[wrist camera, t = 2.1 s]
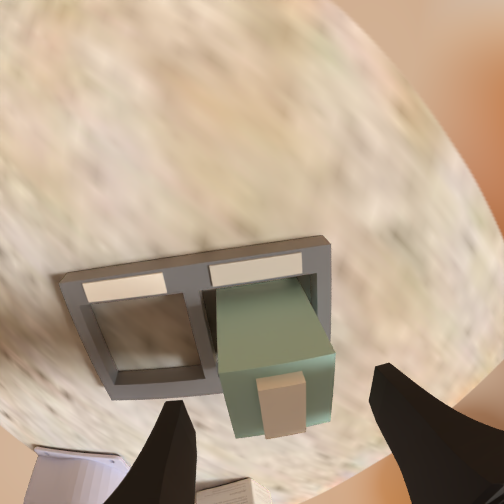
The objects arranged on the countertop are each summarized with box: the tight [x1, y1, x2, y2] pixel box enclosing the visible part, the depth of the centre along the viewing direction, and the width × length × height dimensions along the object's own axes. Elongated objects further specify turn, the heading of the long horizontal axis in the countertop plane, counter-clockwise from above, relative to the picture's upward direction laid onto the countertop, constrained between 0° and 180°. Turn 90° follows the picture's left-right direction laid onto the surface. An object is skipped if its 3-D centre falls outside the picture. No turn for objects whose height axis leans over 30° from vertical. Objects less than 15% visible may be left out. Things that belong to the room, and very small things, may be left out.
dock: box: [59, 235, 331, 400], centre depth 16 cm, size 13×8×1 cm, turn 96°
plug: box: [216, 277, 336, 439], centre depth 13 cm, size 4×4×7 cm
